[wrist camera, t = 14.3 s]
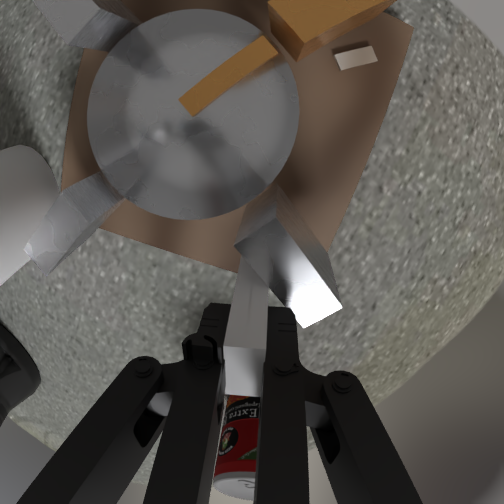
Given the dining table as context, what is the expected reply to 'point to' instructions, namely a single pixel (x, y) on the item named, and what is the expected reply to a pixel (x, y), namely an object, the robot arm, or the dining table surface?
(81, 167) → the wooden base plate
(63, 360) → the dining table surface
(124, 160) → the silver spoked hub
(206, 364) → the robot arm
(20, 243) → the mug
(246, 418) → the canned food
